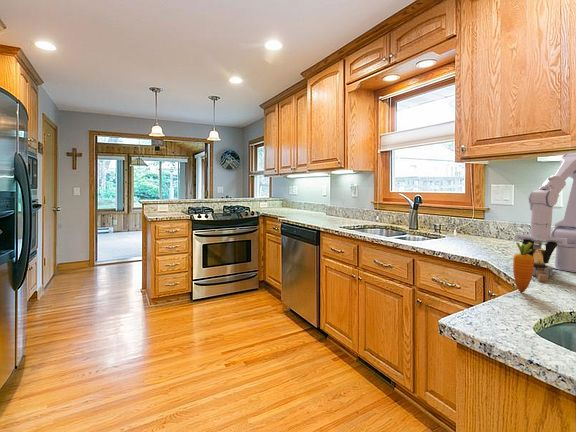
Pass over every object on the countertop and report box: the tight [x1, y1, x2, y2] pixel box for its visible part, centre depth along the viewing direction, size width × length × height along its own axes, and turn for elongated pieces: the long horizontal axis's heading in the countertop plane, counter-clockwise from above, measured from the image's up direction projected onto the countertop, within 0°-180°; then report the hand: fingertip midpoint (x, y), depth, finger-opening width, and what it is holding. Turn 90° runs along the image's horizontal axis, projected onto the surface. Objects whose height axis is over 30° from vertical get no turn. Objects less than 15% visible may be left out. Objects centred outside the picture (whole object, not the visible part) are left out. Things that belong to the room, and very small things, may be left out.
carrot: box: [512, 242, 534, 294], centre depth 95 cm, size 5×5×15 cm
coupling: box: [532, 264, 554, 284], centre depth 116 cm, size 15×16×3 cm
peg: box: [532, 248, 546, 268], centre depth 116 cm, size 4×4×7 cm
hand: (538, 261), depth 116 cm, fingers open, 4 cm apart
